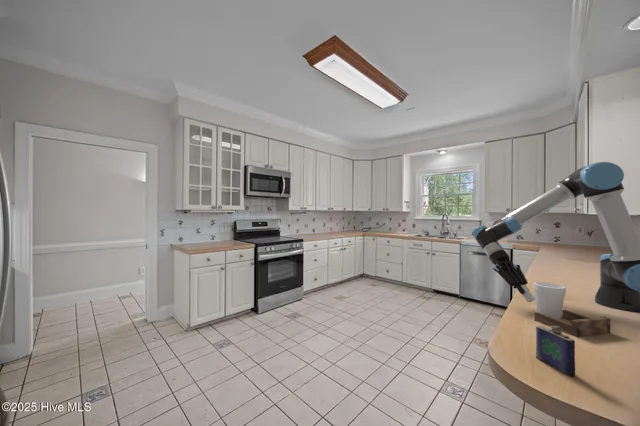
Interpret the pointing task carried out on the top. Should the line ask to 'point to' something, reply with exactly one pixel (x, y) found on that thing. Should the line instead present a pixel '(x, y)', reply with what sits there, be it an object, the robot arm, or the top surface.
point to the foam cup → (549, 298)
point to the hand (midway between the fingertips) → (531, 300)
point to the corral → (577, 324)
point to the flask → (556, 349)
